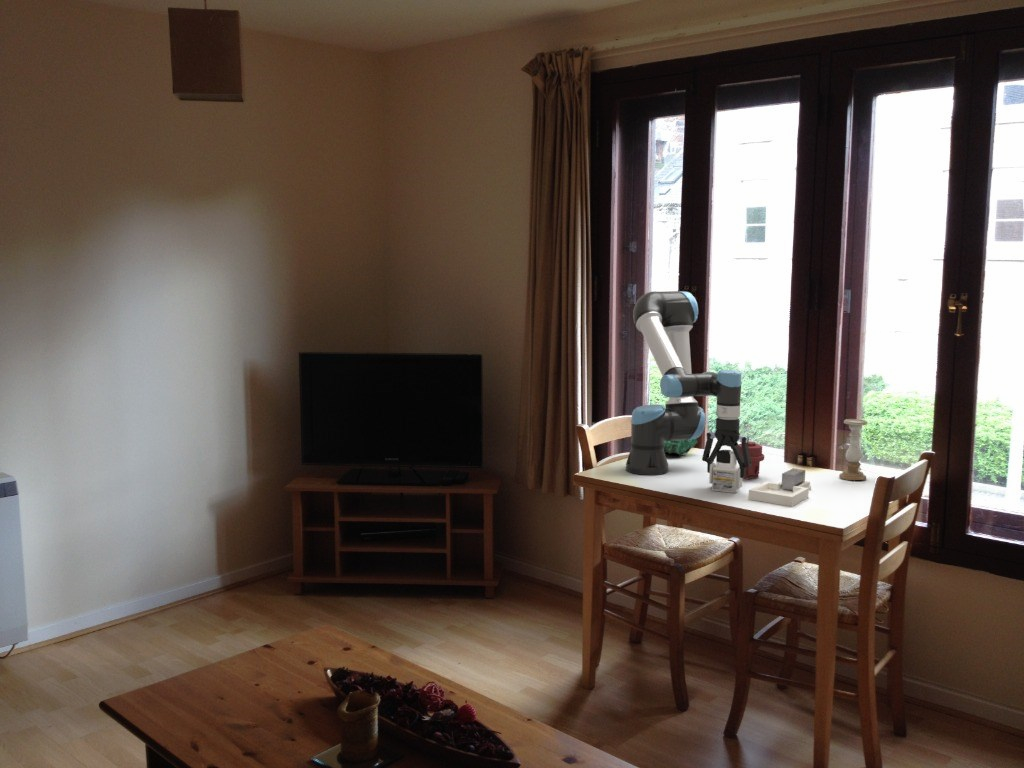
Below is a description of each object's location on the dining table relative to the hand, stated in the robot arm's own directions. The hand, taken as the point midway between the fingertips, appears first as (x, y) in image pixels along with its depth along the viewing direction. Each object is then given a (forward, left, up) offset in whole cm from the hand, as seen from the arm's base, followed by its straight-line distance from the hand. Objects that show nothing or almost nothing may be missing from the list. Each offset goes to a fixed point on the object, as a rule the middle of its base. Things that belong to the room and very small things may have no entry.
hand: (725, 485), depth 292 cm
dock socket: (+18, +5, -1) cm, 19 cm away
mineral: (-39, +40, -2) cm, 56 cm away
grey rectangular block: (+18, +13, 0) cm, 22 cm away
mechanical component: (-1, +21, -2) cm, 21 cm away
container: (0, 0, -2) cm, 2 cm away
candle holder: (+28, +42, -2) cm, 51 cm away
